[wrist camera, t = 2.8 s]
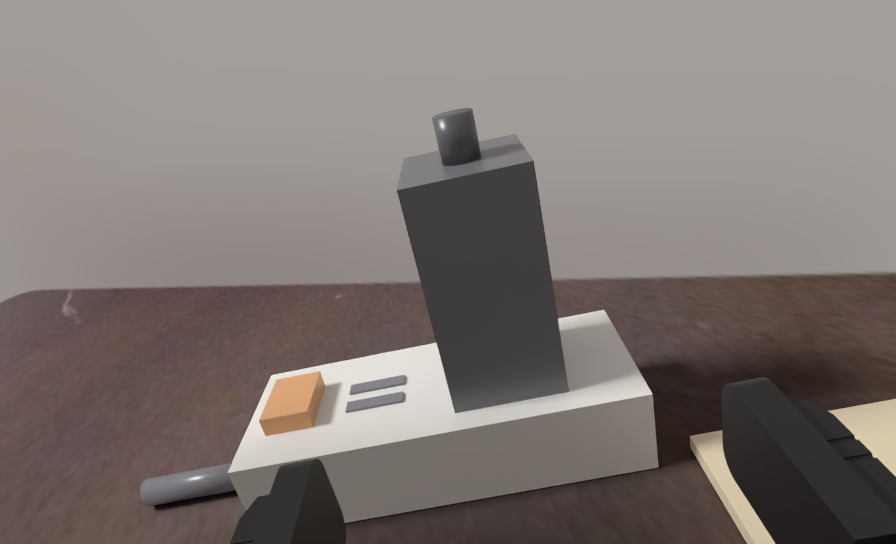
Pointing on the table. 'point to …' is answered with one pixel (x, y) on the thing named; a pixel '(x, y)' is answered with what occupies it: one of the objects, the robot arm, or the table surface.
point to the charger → (483, 265)
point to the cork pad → (876, 424)
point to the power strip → (437, 431)
